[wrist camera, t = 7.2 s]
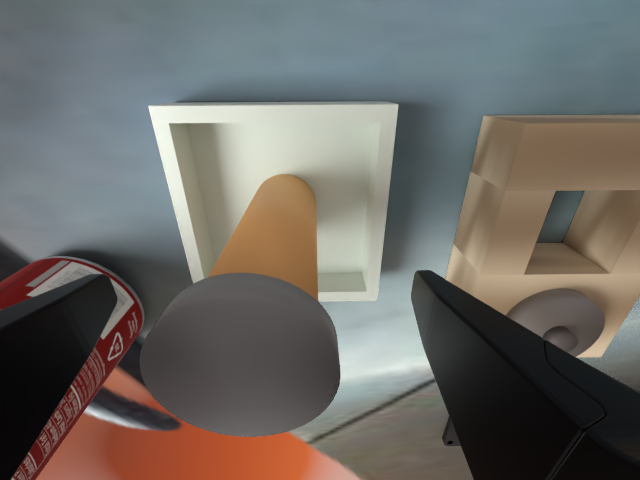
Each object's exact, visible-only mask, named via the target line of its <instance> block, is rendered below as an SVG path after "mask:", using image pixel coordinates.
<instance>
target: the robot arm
mask: <svg viewBox="0 0 640 480" xmlns="http://www.w3.org/2000/svg"><path fill="white" fill-rule="evenodd" d="M117 300H118V298H117V294H116V292H115V289H114V287H113V284H112V282H111V280H110V277H109V276H108V275H106V274H89V275H87V276H84V277H82V278H79V279H77V280H74V281H72V282H69V283H67V284H64V285H62V286H59V287H57V288H54V289H52V290H49V291H47V292H44V293H42V294H39V295H37V296H34V297H32V298H29V299H27V300H24V301H22V302H19V303H17V304H14V305H12V306H9V307H7V308H4V309H2V310H0V480H11V479H12V478H13V476H14V474H15V473H16V471H17V470H18V468H19V467H20V465H21V463H22V462H23V460H24V459H25V457H26V456H27V454H28V452H29V451H30V449H31V448H32V446H33V445H34V443H35V441H36V440H37V438H38V437H39V435H40V434H41V432H42V430H43V429H44V427H45V426H46V424H47V423H48V421H49V419H50V418H51V416H52V415H53V413H54V412H55V410H56V408H57V407H58V405H59V404H60V402H61V401H62V399H63V397H64V396H65V394H66V393H67V391H68V390H69V388H70V386H71V385H72V383H73V382H74V380H75V379H76V377H77V375H78V374H79V372H80V371H81V369H82V368H83V366H84V364H85V363H86V361H87V360H88V358H89V356H90V355H91V353H92V352H93V350H94V348H95V346H96V344H97V342H98V340H99V338H100V336H101V334H102V332H103V330H104V328H105V326H106V325H107V323H108V321H109V319H110V317H111V315H112V313H113V311H114V309H115V307H116V305H117ZM411 300H412V304H413V308H414V312H415V316H416V320H417V324H418V328H419V332H420V336H421V340H422V344H423V347H424V350H425V353H426V356H427V358H428V361H429V363H430V366H431V369H432V371H433V374H434V377H435V379H436V382H437V384H438V387H439V390H440V392H441V395H442V398H443V400H444V403H445V405H446V408H447V411H448V413H449V419H448V422H447V425H446V428H445V431H444V434H443V437H442V439H443V442H444V444H445V445H446V446H461V447H462V450H463V453H464V455H465V458H466V461H467V463H468V466H469V468H470V471H471V474H472V476H473V479H474V480H640V392H638V391H636V390H634V389H632V388H631V387H629V386H627V385H625V384H623V383H621V382H619V381H617V380H616V379H614V378H612V377H610V376H608V375H606V374H605V373H603V372H601V371H599V370H597V369H595V368H594V367H592V366H590V365H588V364H586V363H585V362H583V361H581V360H579V359H578V358H576V357H574V356H573V355H571V354H569V353H567V352H566V351H564V350H562V349H561V348H559V347H557V346H556V345H554V344H552V343H551V342H549V341H547V340H543V338H542V337H541V336H539V335H537V334H536V333H534V332H532V331H531V330H529V329H527V328H526V327H524V326H522V325H521V324H519V323H517V322H516V321H514V320H512V319H511V318H509V317H507V316H506V315H504V314H502V313H501V312H499V311H497V310H496V309H494V308H492V307H491V306H489V305H487V304H486V303H484V302H482V301H481V300H479V299H477V298H476V297H474V296H472V295H471V294H469V293H467V292H466V291H464V290H462V289H461V288H459V287H457V286H456V285H454V284H452V283H451V282H449V281H447V280H446V279H444V278H442V277H441V276H439V275H437V274H436V273H434V272H432V271H430V270H418V271H416V272H415V275H414V280H413V286H412V292H411Z"/></svg>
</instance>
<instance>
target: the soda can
mask: <svg viewBox="0 0 640 480" xmlns="http://www.w3.org/2000/svg"><path fill="white" fill-rule="evenodd" d="M89 274H106V275H108V276H109V277H110V280H111V282H112V284H113V287H114V289H115V292H116V294H117V298H118V300H117V305H116V307H115V309H114V311H113V313H112V315H111V317H110V319H109V321H108V323H107V325H106V326H105V328H104V330H103V332H102V334H101V336H100V338H99V340H98V342H97V344H96V346H95V348H94V350H93V352H92V353H91V355H90V356H89V358H88V360H87V361H86V363H85V364H84V366H83V368H82V369H81V371H80V372H79V374H78V375H77V377H76V379H75V380H74V382H73V383H72V385H71V386H70V388H69V390H68V391H67V393H66V394H65V396H64V397H63V399H62V401H61V402H60V404H59V405H58V407H57V408H56V410H55V412H54V413H53V415H52V416H51V418H50V419H49V421H48V423H47V424H46V426H45V427H44V429H43V430H42V432H41V434H40V435H39V437H38V438H37V440H36V441H35V443H34V445H33V446H32V448H31V449H30V451H29V452H28V454H27V456H26V457H25V459H24V460H23V462H22V463H21V465H20V467H19V468H18V470H17V471H16V473H15V474H14V476H13V478H12V479H11V480H35V479H36V478H37V476H38V475H39V474H40V472H41V471H42V470H43V468H44V467H45V465H46V464H47V463H48V461H49V460H50V458H51V457H52V456H53V454H54V453H55V451H56V450H57V448H58V447H59V446H60V444H61V443H62V441H63V440H64V439H65V437H66V436H67V434H68V433H69V432H70V430H71V429H72V427H73V426H74V425H75V423H76V422H77V420H78V419H79V418H80V416H81V415H82V413H83V412H84V410H85V409H86V408H87V406H88V405H89V403H90V402H91V401H92V399H93V398H94V396H95V395H96V394H97V392H98V391H99V389H100V388H101V387H102V385H103V384H104V382H105V381H106V380H107V378H108V377H109V375H110V374H111V372H112V371H113V370H114V368H115V367H116V365H117V364H118V363H119V361H120V360H121V358H122V357H123V356H124V354H125V353H126V351H127V350H128V349H129V347H130V346H131V344H132V343H133V342H134V340H135V339H136V337H137V336H138V334H139V333H140V331H141V330H142V327H143V324H144V311H143V307H142V304H141V302H140V299H139V298H138V296H137V294H136V293H135V292H134V290H133V289H132V288H131V287H130V286H129V285H128V284H127V283H126V282H125V281H124V280H123V279H122V278H121V277H119V276H118V275H117V274H115V273H114V272H112V271H111V270H109V269H107V268H105V267H103V266H101V265H99V264H97V263H94V262H91V261H88V260H85V259H81V258H76V257H69V256H52V257H46V258H42V259H39V260H36V261H34V262H32V263H31V264H29V265H27V266H26V267H24V268H23V269H21V270H19V271H18V272H16V273H15V274H13V275H11V276H10V277H8V278H7V279H5V280H4V281H2V282H0V310H2V309H4V308H7V307H9V306H12V305H14V304H17V303H19V302H22V301H24V300H27V299H29V298H32V297H34V296H37V295H39V294H42V293H44V292H47V291H49V290H52V289H54V288H57V287H59V286H62V285H64V284H67V283H69V282H72V281H74V280H77V279H79V278H82V277H84V276H87V275H89Z"/></svg>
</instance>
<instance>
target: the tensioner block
mask: <svg viewBox="0 0 640 480" xmlns="http://www.w3.org/2000/svg"><path fill="white" fill-rule="evenodd" d="M556 191H585V192H584V194H583V196H582V198H581V201H580V203H579V205H578V208H577V210H576V212H575V215H574V217H573V219H572V222H571V224H570V226H569V229H568V231H567V233H566V236H565V238H564V240H563V243H536V241H537V239H538V236H539V233H540V231H541V228H542V226H543V223H544V220H545V218H546V215H547V213H548V210H549V207H550V205H551V202H552V199H553V197H554V194H555V192H556ZM445 279H446V280H447V281H449V282H451V283H452V284H454V285H456V286H457V287H459V288H461V289H462V290H464V291H466V292H467V293H469V294H471V295H472V296H474V297H476V298H477V299H479V300H481V301H482V302H484V303H486V304H487V305H489V306H491V307H492V308H494V309H496V310H497V311H499V312H501V313H502V314H504V315H506V316H507V317H509V318H511V319H512V320H514V321H516V322H517V323H519V324H521V325H522V326H524V327H526V328H527V329H529V330H531V331H532V332H534V333H536V334H537V335H539V336H541V337H542V338H543V340H547V341H549V342H551V343H552V344H554V345H556V346H557V347H559V348H561V349H562V350H564V351H566V352H567V353H569V354H571V355H573V356H574V357H601V356H602V355H603V353H604V352H605V350H606V348H607V347H608V345H609V344H610V342H611V341H612V339H613V337H614V336H615V334H616V333H617V331H618V329H619V328H620V326H621V325H622V323H623V321H624V320H625V318H626V317H627V315H628V313H629V312H630V310H631V309H632V307H633V306H634V304H635V302H636V301H637V299H638V298H639V296H640V115H487V116H483V120H482V124H481V129H480V133H479V137H478V141H477V146H476V150H475V154H474V158H473V163H472V167H471V171H470V176H469V180H468V184H467V188H466V193H465V197H464V201H463V205H462V210H461V214H460V218H459V222H458V227H457V231H456V235H455V240H454V244H453V248H452V252H451V257H450V261H449V265H448V269H447V274H446V278H445Z"/></svg>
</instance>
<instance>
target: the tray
mask: <svg viewBox="0 0 640 480" xmlns="http://www.w3.org/2000/svg"><path fill="white" fill-rule="evenodd" d="M398 105H399V104H395V103H391V102H387V101H345V102H182V103H167V104H159V105H152V106H148V107H149V111H150V115H151V119H152V123H153V127H154V131H155V135H156V139H157V143H158V147H159V151H160V155H161V159H162V163H163V167H164V171H165V175H166V179H167V182H168V186H169V190H170V194H171V198H172V202H173V206H174V210H175V214H176V218H177V222H178V226H179V230H180V234H181V238H182V242H183V246H184V250H185V254H186V258H187V262H188V266H189V270H190V274H191V278H192V282H193V283H196V282H198V281H200V280H202V279H205V278H208V276H209V274H210V272H211V271H212V269H213V267H214V265H215V264H216V262H217V260H218V258H219V257H220V255H221V253H222V251H223V250H224V248H225V246H226V244H227V243H228V241H229V239H230V237H231V236H232V234H233V232H234V230H235V229H236V227H237V225H238V223H239V222H240V220H241V218H242V216H243V215H244V213H245V211H246V209H247V208H248V206H249V204H250V202H251V201H252V199H253V197H254V195H255V194H256V192H257V190H258V188H259V187H260V185H261V184H262V183H263V182H264V181H265V180H267V179H268V178H270V177H273V176H275V175H281V174H288V175H293V176H296V177H298V178H300V179H302V180H303V181H305V182H306V183H307V184H308V185H309V186H310V188H311V189H312V191H313V193H314V195H315V198H316V215H317V265H318V302H322V301H377V299H378V289H379V280H380V271H381V262H382V253H383V243H384V234H385V225H386V216H387V206H388V197H389V188H390V179H391V170H392V160H393V151H394V142H395V133H396V123H397V114H398Z"/></svg>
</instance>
